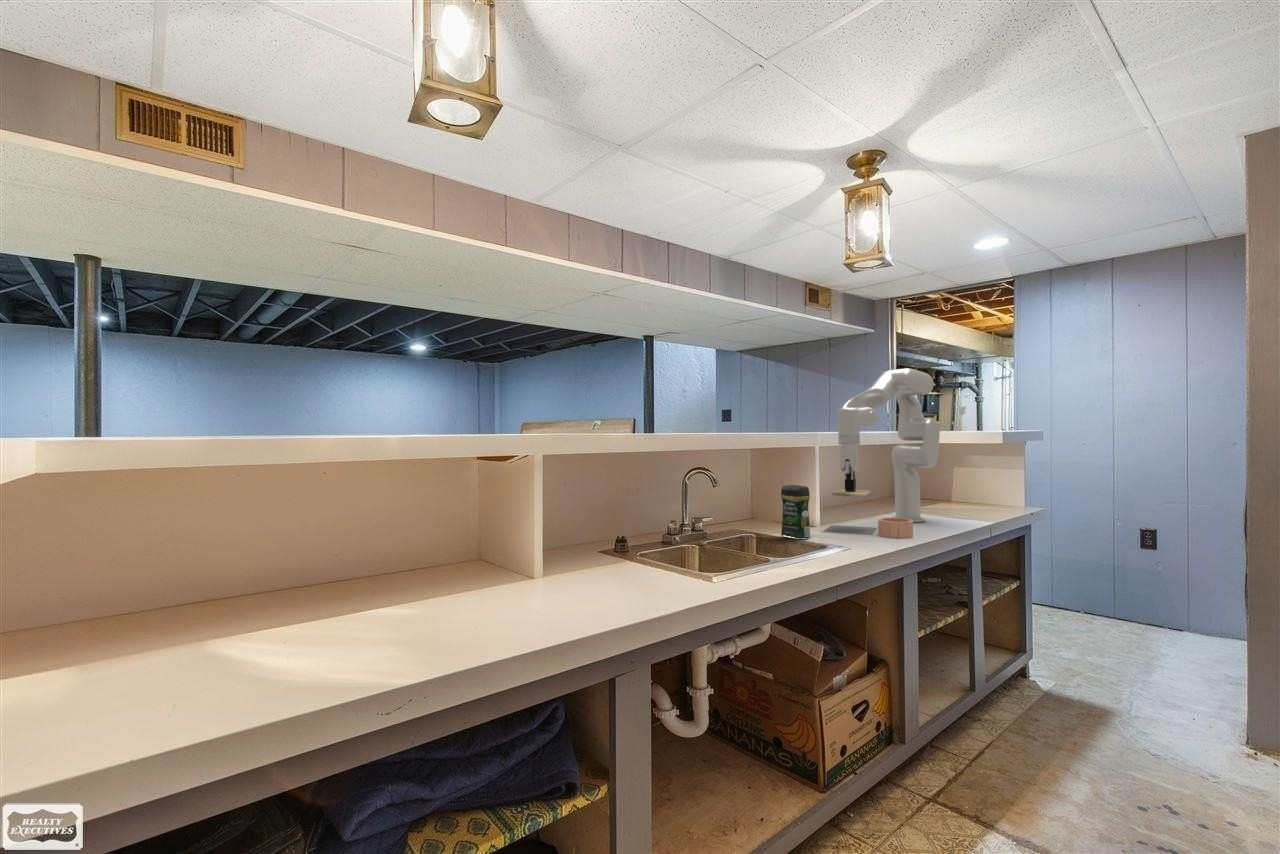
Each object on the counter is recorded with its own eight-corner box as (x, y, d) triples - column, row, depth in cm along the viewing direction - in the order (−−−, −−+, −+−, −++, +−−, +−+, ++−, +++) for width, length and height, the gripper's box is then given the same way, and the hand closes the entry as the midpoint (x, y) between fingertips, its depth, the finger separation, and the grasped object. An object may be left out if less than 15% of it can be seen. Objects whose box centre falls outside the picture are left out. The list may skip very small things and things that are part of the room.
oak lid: (834, 491, 229) (834, 476, 229) (873, 492, 222) (872, 476, 222) (827, 495, 217) (827, 479, 217) (867, 496, 210) (867, 480, 210)
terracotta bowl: (880, 533, 213) (880, 517, 214) (914, 535, 208) (913, 518, 208) (876, 538, 204) (876, 521, 204) (911, 540, 199) (911, 523, 199)
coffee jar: (777, 537, 208) (776, 484, 209) (792, 534, 213) (791, 483, 213) (799, 541, 201) (798, 486, 201) (814, 538, 205) (813, 485, 205)
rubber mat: (831, 526, 230) (831, 525, 230) (877, 529, 222) (877, 527, 222) (822, 533, 216) (822, 531, 216) (871, 536, 207) (871, 534, 207)
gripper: (842, 440, 228) (843, 487, 228) (834, 441, 214) (836, 491, 214) (862, 439, 225) (864, 487, 225) (856, 441, 210) (857, 492, 210)
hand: (850, 489), depth 219 cm, fingers closed on oak lid, 3 cm apart
